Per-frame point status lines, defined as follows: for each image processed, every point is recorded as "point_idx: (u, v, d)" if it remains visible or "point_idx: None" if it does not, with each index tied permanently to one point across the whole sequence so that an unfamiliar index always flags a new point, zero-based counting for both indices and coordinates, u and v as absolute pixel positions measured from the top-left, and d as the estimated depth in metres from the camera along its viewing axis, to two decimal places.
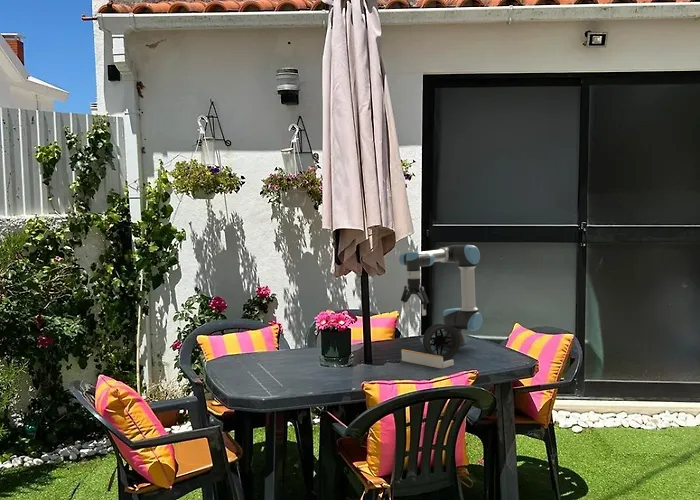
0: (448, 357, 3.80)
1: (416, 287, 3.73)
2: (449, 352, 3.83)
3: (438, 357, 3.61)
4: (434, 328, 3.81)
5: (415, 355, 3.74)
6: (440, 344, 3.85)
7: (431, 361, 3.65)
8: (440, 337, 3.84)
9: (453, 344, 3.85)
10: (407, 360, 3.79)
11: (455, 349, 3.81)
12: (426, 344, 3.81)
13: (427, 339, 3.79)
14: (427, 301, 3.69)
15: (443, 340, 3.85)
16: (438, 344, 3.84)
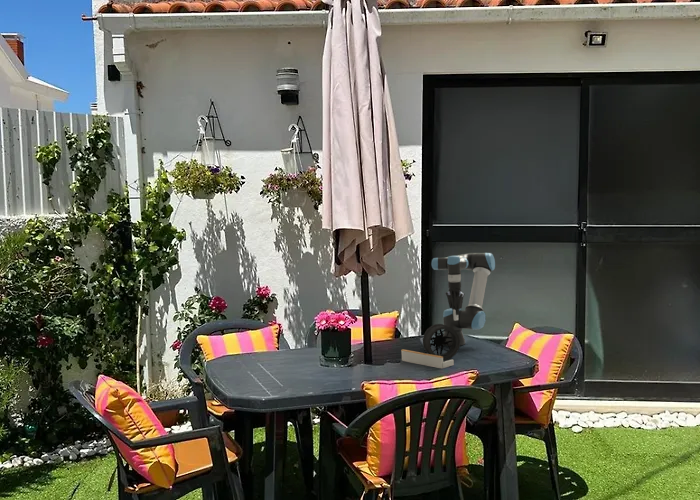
0: (448, 357, 3.80)
1: (458, 290, 3.87)
2: (449, 352, 3.83)
3: (438, 357, 3.61)
4: (434, 328, 3.81)
5: (415, 355, 3.74)
6: (440, 344, 3.85)
7: (431, 361, 3.65)
8: (440, 337, 3.84)
9: (453, 344, 3.85)
10: (407, 360, 3.79)
11: (455, 349, 3.81)
12: (426, 344, 3.81)
13: (427, 339, 3.79)
14: (460, 307, 3.88)
15: (443, 340, 3.85)
16: (438, 344, 3.84)
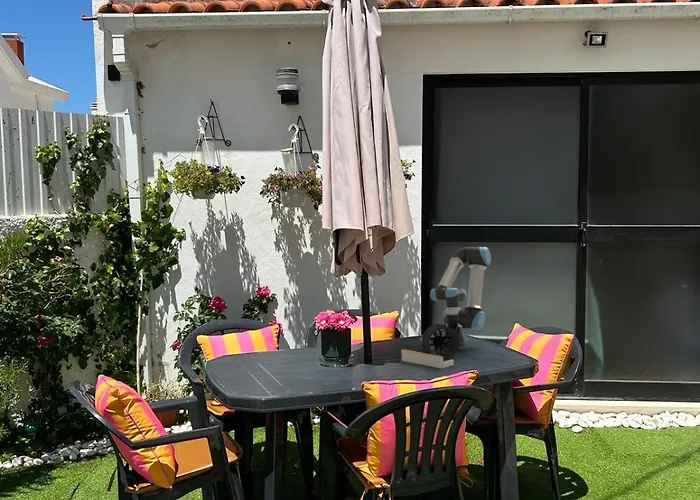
0: (447, 357, 3.79)
1: (455, 323, 3.86)
2: (448, 352, 3.83)
3: (438, 357, 3.61)
4: (433, 328, 3.81)
5: (415, 355, 3.74)
6: (439, 344, 3.84)
7: (431, 361, 3.65)
8: (439, 337, 3.84)
9: (452, 344, 3.84)
10: (407, 360, 3.79)
11: (454, 349, 3.81)
12: (425, 344, 3.80)
13: (426, 339, 3.79)
14: None
15: (442, 340, 3.84)
16: (437, 344, 3.84)
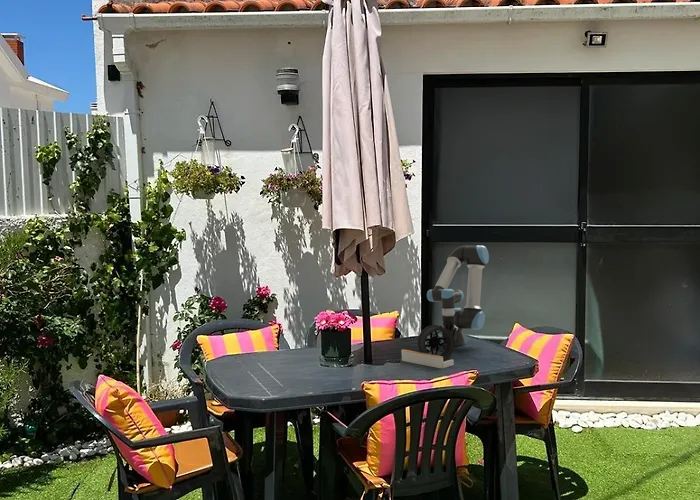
0: (443, 358, 3.77)
1: (451, 324, 3.84)
2: (444, 353, 3.80)
3: (438, 357, 3.61)
4: (429, 329, 3.78)
5: (415, 355, 3.74)
6: (435, 345, 3.82)
7: (431, 361, 3.65)
8: (435, 338, 3.81)
9: (448, 345, 3.82)
10: (407, 360, 3.79)
11: (450, 350, 3.78)
12: (421, 345, 3.78)
13: (422, 340, 3.76)
14: None
15: (438, 341, 3.82)
16: (433, 345, 3.81)
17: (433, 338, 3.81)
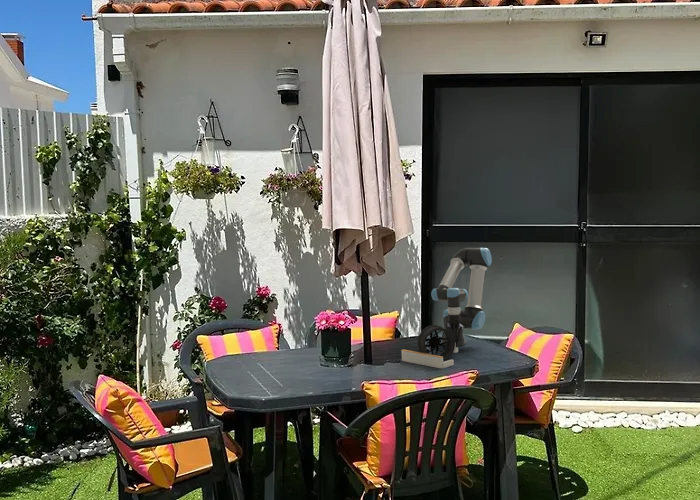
0: (443, 358, 3.77)
1: (457, 323, 3.87)
2: (444, 353, 3.80)
3: (438, 357, 3.61)
4: (429, 329, 3.78)
5: (415, 355, 3.74)
6: (435, 345, 3.82)
7: (431, 361, 3.65)
8: (435, 338, 3.81)
9: (448, 345, 3.82)
10: (407, 360, 3.79)
11: (450, 350, 3.78)
12: (421, 345, 3.78)
13: (422, 340, 3.76)
14: (459, 339, 3.88)
15: (438, 341, 3.82)
16: (433, 345, 3.81)
17: (433, 338, 3.81)
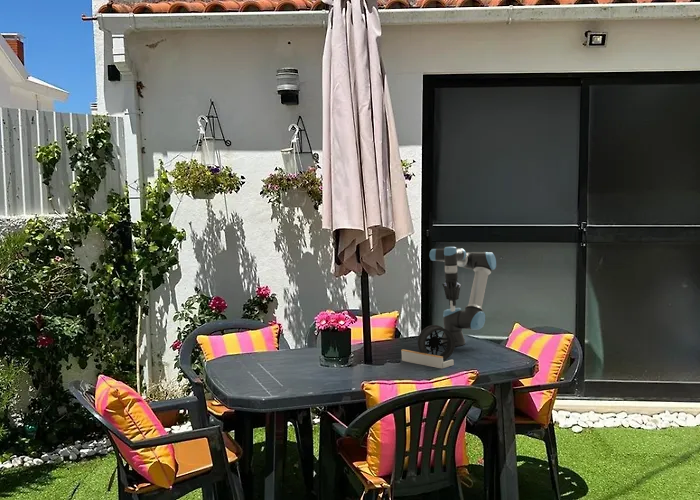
0: (443, 358, 3.77)
1: (454, 281, 3.86)
2: (444, 353, 3.80)
3: (438, 357, 3.61)
4: (429, 329, 3.78)
5: (415, 355, 3.74)
6: (435, 345, 3.82)
7: (431, 361, 3.65)
8: (435, 338, 3.81)
9: (448, 345, 3.82)
10: (407, 360, 3.79)
11: (450, 350, 3.78)
12: (421, 345, 3.78)
13: (422, 340, 3.76)
14: None
15: (438, 341, 3.82)
16: (433, 345, 3.81)
17: (433, 338, 3.81)
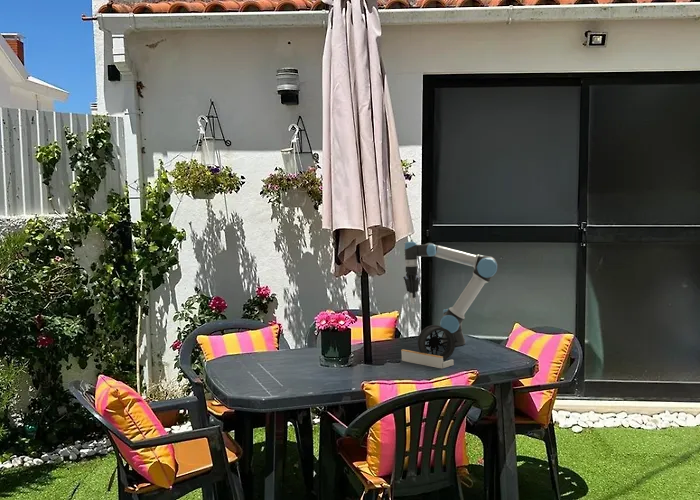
0: (443, 358, 3.77)
1: (414, 274, 4.08)
2: (444, 353, 3.80)
3: (438, 357, 3.61)
4: (429, 329, 3.78)
5: (415, 355, 3.74)
6: (435, 345, 3.82)
7: (431, 361, 3.65)
8: (435, 338, 3.81)
9: (448, 345, 3.82)
10: (407, 360, 3.79)
11: (450, 350, 3.78)
12: (421, 345, 3.78)
13: (422, 340, 3.76)
14: (416, 290, 4.09)
15: (438, 341, 3.82)
16: (433, 345, 3.81)
17: (433, 338, 3.81)
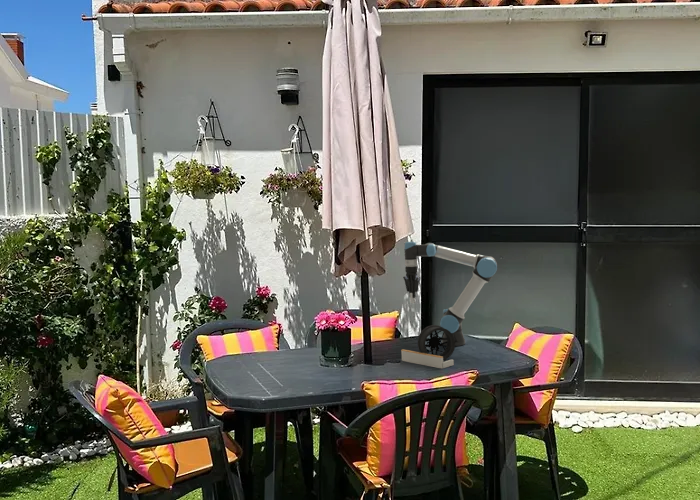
0: (443, 358, 3.77)
1: (414, 274, 4.08)
2: (444, 353, 3.80)
3: (438, 357, 3.61)
4: (429, 329, 3.78)
5: (415, 355, 3.74)
6: (435, 345, 3.82)
7: (431, 361, 3.65)
8: (435, 338, 3.81)
9: (448, 345, 3.82)
10: (407, 360, 3.79)
11: (450, 350, 3.78)
12: (421, 345, 3.78)
13: (422, 340, 3.76)
14: (416, 290, 4.09)
15: (438, 341, 3.82)
16: (433, 345, 3.81)
17: (433, 338, 3.81)
